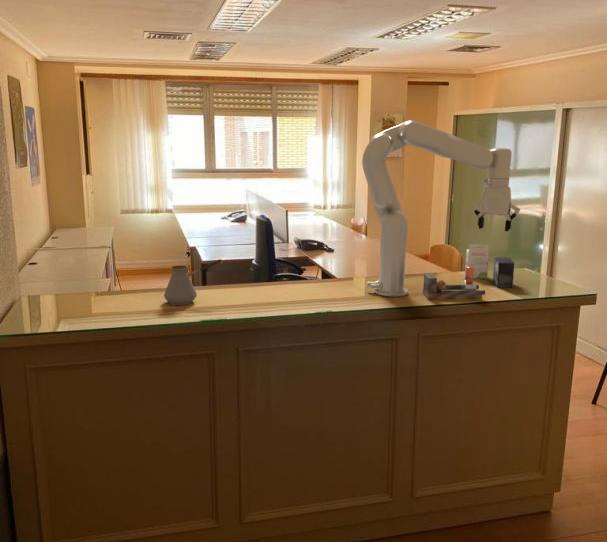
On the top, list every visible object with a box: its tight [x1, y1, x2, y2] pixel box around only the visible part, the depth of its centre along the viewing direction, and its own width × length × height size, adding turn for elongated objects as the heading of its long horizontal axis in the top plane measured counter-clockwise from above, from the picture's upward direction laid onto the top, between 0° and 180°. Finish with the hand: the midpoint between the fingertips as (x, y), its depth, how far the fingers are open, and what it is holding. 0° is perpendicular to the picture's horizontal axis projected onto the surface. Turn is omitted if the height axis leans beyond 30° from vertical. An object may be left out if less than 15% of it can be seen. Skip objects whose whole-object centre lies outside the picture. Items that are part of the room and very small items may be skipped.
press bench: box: [422, 272, 486, 301], centre depth 222 cm, size 21×9×8 cm, turn 90°
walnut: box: [436, 279, 446, 292], centre depth 222 cm, size 4×4×4 cm
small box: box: [492, 256, 516, 289], centre depth 240 cm, size 11×6×10 cm, turn 172°
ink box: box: [464, 243, 490, 279], centre depth 252 cm, size 9×5×15 cm, turn 84°
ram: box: [460, 266, 477, 290], centre depth 222 cm, size 4×6×9 cm, turn 0°
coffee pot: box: [163, 258, 224, 306], centre depth 213 cm, size 21×12×15 cm, turn 107°
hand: (493, 229), depth 220 cm, fingers open, 9 cm apart
